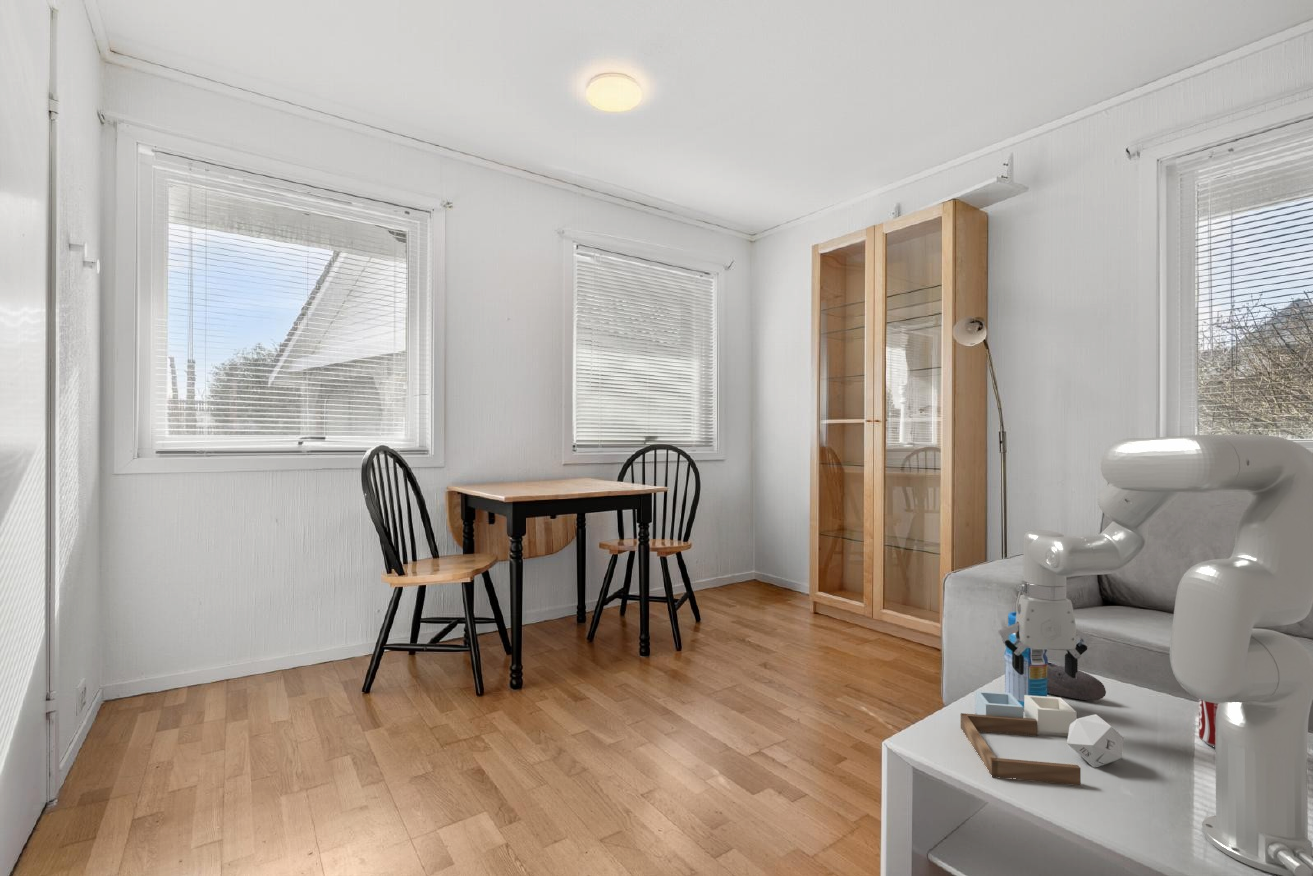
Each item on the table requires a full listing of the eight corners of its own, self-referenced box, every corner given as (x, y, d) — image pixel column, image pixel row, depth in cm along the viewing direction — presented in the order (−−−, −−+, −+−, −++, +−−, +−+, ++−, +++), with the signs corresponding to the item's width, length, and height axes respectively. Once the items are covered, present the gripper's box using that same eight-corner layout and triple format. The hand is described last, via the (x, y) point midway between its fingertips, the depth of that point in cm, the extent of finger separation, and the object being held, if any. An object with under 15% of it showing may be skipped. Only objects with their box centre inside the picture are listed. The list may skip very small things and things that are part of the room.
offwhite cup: (1076, 737, 123) (1076, 712, 123) (1038, 734, 124) (1037, 709, 124) (1060, 721, 130) (1060, 697, 130) (1024, 718, 131) (1024, 695, 131)
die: (1062, 765, 114) (1094, 737, 108) (1052, 724, 121) (1082, 697, 115) (1108, 784, 113) (1142, 758, 107) (1095, 742, 120) (1127, 715, 114)
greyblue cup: (1023, 731, 125) (1023, 707, 125) (986, 728, 127) (986, 704, 127) (1010, 716, 132) (1010, 693, 132) (975, 714, 134) (975, 690, 134)
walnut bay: (1080, 785, 106) (1080, 768, 106) (991, 777, 109) (991, 760, 109) (1035, 733, 124) (1035, 719, 125) (960, 727, 127) (960, 713, 127)
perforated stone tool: (1107, 701, 140) (1106, 670, 140) (1105, 709, 136) (1105, 677, 136) (1030, 684, 150) (1030, 656, 150) (1026, 691, 146) (1026, 662, 146)
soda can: (1255, 756, 116) (1255, 691, 116) (1214, 752, 117) (1213, 689, 117) (1230, 739, 122) (1229, 678, 122) (1190, 735, 123) (1190, 675, 124)
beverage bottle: (1002, 707, 137) (1001, 616, 137) (1006, 694, 144) (1005, 608, 144) (1047, 716, 132) (1046, 623, 132) (1049, 702, 139) (1048, 614, 139)
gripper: (1005, 594, 125) (1005, 678, 125) (1100, 598, 122) (1100, 684, 122) (992, 585, 133) (992, 664, 133) (1081, 588, 130) (1081, 670, 130)
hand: (1044, 674), depth 128 cm, fingers open, 9 cm apart
